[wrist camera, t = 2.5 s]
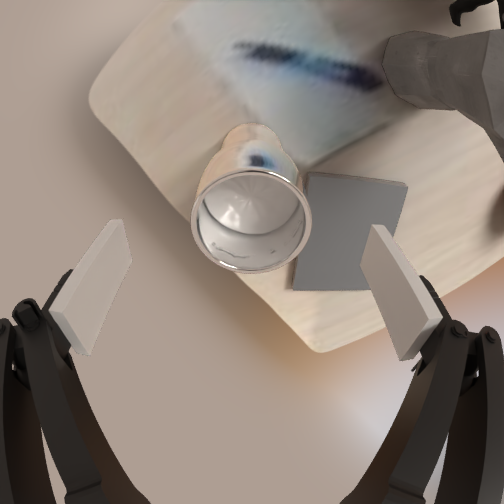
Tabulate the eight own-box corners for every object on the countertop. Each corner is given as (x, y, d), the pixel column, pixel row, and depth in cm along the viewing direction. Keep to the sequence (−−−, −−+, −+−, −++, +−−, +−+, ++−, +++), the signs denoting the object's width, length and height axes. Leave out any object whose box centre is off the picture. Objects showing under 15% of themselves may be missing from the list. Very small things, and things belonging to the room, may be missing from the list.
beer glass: (247, 104, 24) (242, 136, 12) (299, 148, 26) (341, 223, 14) (203, 155, 27) (163, 234, 15) (255, 194, 30) (257, 293, 18)
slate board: (307, 172, 28) (309, 176, 27) (403, 182, 28) (408, 187, 27) (291, 284, 37) (292, 290, 37) (370, 284, 38) (373, 289, 37)
